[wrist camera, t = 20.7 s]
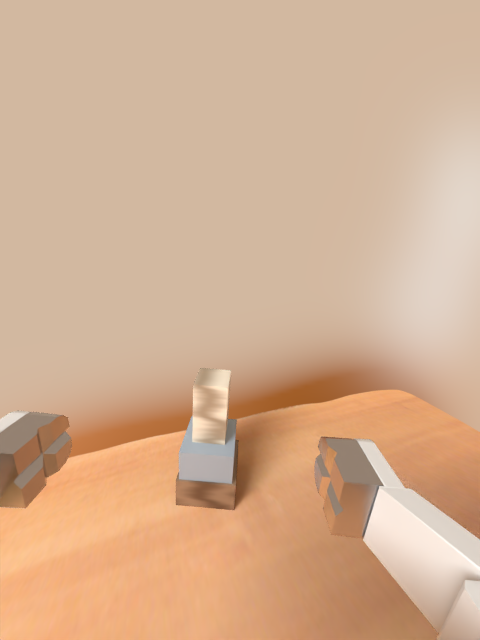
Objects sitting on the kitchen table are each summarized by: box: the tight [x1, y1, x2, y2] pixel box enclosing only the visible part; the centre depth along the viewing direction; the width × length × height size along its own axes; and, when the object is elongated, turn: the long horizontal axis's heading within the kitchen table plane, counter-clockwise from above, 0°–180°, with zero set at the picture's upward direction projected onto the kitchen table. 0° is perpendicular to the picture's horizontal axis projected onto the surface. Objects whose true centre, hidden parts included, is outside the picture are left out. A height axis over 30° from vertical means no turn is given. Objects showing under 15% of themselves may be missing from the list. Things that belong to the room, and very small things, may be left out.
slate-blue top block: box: [179, 416, 237, 484], centre depth 38 cm, size 8×8×5 cm
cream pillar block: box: [192, 368, 231, 445], centre depth 37 cm, size 5×5×10 cm
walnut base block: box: [176, 440, 238, 510], centre depth 40 cm, size 9×9×5 cm
